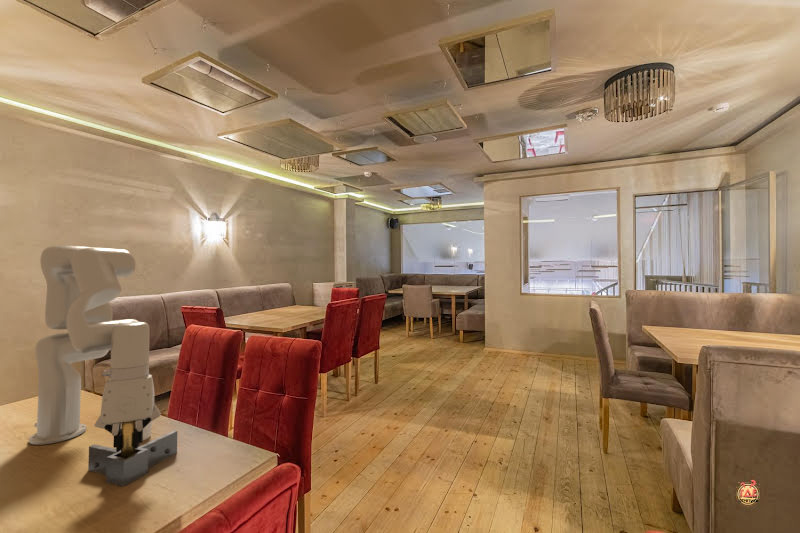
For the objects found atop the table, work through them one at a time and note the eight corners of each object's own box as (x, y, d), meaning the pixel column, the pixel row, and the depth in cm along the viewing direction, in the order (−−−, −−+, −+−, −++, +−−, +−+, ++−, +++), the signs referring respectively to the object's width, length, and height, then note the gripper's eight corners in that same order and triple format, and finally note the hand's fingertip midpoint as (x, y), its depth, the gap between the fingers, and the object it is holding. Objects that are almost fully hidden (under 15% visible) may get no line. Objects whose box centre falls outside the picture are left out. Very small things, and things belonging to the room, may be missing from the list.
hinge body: (77, 475, 86) (78, 450, 86) (141, 445, 101) (142, 425, 101) (123, 486, 81) (123, 460, 81) (183, 453, 96) (183, 432, 96)
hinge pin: (113, 463, 83) (114, 409, 84) (130, 455, 87) (131, 403, 88) (125, 466, 82) (126, 410, 83) (142, 457, 86) (143, 405, 86)
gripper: (81, 381, 78) (79, 463, 78) (167, 371, 86) (165, 446, 85) (92, 373, 85) (90, 449, 84) (171, 365, 93) (169, 434, 92)
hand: (128, 447), depth 85 cm, fingers closed on hinge pin, 2 cm apart
